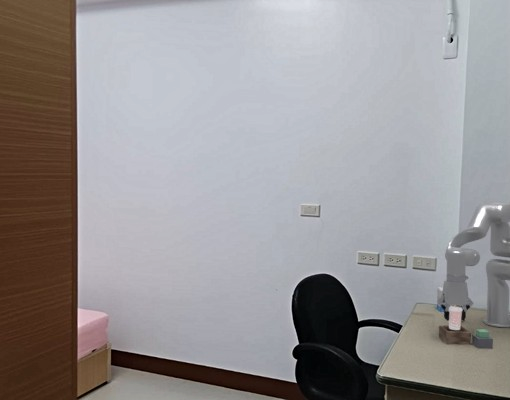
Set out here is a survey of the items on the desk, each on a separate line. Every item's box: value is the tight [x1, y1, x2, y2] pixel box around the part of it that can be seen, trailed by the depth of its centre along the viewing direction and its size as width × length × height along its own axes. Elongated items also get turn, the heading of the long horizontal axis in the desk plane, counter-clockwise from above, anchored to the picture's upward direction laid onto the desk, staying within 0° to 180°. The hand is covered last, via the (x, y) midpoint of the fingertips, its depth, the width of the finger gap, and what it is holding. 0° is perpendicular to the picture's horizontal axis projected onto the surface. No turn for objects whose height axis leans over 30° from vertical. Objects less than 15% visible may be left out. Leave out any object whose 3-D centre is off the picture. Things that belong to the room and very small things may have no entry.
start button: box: [475, 328, 490, 338], centre depth 209 cm, size 4×4×5 cm
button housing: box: [471, 333, 494, 349], centre depth 209 cm, size 6×6×4 cm
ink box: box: [436, 286, 453, 313], centre depth 268 cm, size 9×8×12 cm
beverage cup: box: [448, 305, 463, 330], centre depth 215 cm, size 6×6×14 cm
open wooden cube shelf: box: [438, 325, 472, 345], centre depth 216 cm, size 10×10×5 cm
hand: (454, 319), depth 216 cm, fingers closed on beverage cup, 6 cm apart
